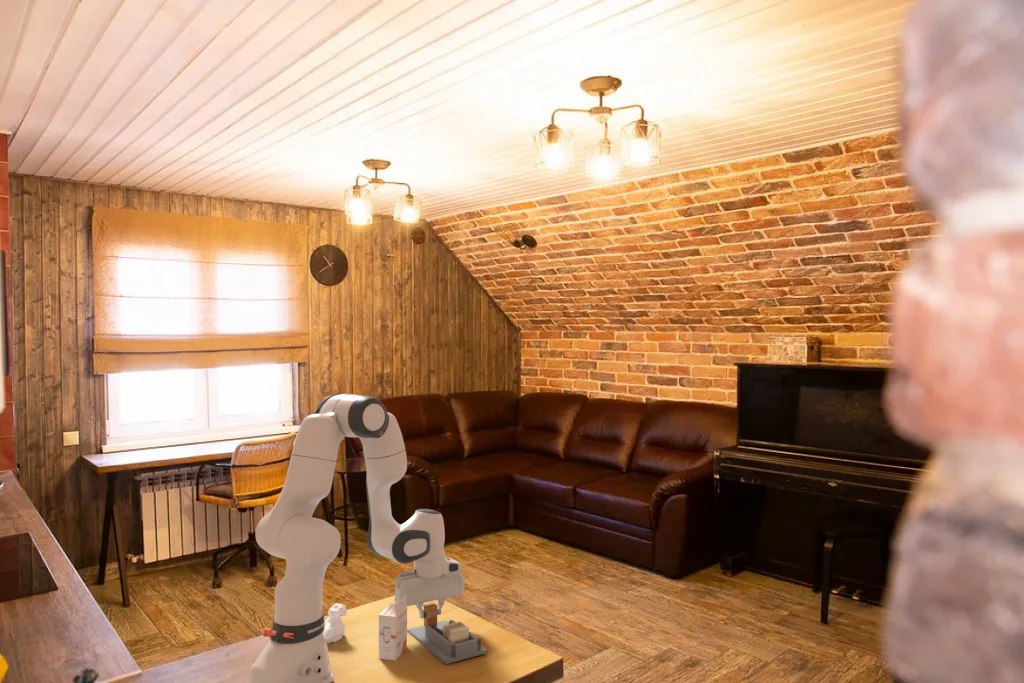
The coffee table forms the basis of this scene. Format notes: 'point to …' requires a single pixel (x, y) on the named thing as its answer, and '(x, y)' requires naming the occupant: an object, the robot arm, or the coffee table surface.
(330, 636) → the bust
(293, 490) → the robot arm
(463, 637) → the block
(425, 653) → the coffee table surface
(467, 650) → the grey slotted base
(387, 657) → the ink cartridge box
